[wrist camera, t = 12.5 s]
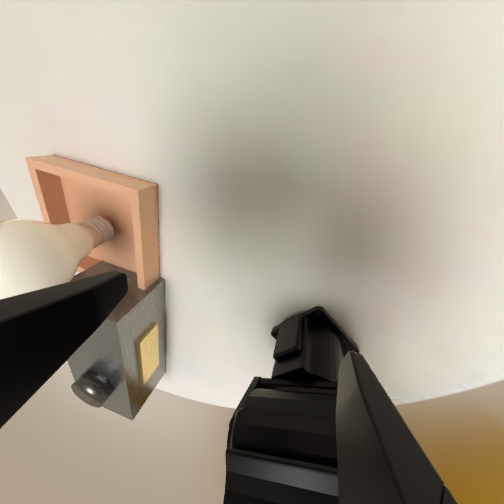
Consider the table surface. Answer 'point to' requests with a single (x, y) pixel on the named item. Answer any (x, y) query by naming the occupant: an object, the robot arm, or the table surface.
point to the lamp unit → (123, 348)
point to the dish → (102, 211)
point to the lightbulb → (45, 252)
